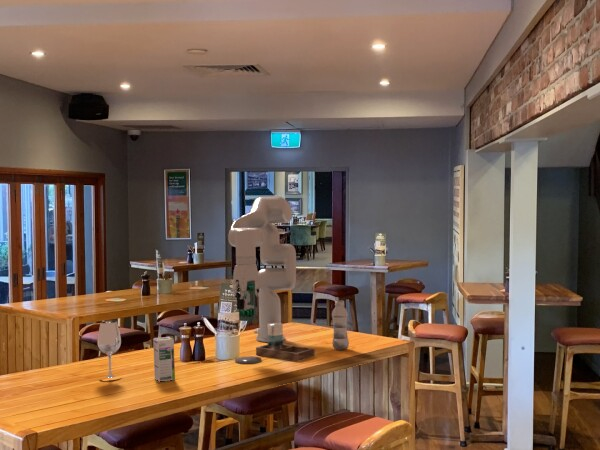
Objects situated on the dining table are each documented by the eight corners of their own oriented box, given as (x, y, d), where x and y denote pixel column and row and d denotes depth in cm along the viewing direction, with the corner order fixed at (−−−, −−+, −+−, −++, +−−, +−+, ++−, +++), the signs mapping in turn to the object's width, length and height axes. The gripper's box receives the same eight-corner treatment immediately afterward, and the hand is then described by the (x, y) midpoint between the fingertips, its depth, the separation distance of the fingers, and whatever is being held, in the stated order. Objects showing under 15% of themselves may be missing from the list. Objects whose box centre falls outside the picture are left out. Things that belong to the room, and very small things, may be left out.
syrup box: (158, 382, 230) (157, 340, 230) (154, 379, 235) (153, 337, 235) (175, 380, 233) (174, 338, 232) (170, 376, 238) (169, 335, 238)
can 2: (264, 354, 271) (264, 324, 270) (274, 351, 275) (274, 322, 275) (276, 356, 267) (275, 326, 266) (286, 353, 272) (285, 323, 271)
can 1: (236, 320, 258) (235, 281, 257) (243, 318, 263) (243, 279, 263) (251, 321, 256) (250, 281, 255) (258, 318, 261) (257, 280, 261)
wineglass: (126, 376, 239) (124, 320, 239) (113, 382, 232) (111, 324, 231) (107, 375, 242) (105, 319, 241) (94, 381, 234) (92, 323, 234)
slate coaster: (229, 361, 259) (229, 360, 259) (247, 356, 267) (247, 355, 267) (249, 365, 253) (248, 363, 253) (266, 360, 261) (266, 358, 261)
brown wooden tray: (256, 354, 270) (256, 347, 270) (274, 350, 279) (274, 342, 279) (297, 361, 257) (297, 353, 257) (314, 356, 266) (314, 348, 266)
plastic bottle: (349, 351, 274) (348, 301, 273) (332, 351, 274) (331, 302, 273) (348, 347, 280) (347, 299, 279) (332, 348, 280) (331, 299, 280)
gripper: (254, 259, 268) (255, 304, 269) (222, 262, 254) (224, 310, 255) (268, 259, 263) (269, 305, 264) (237, 263, 250) (238, 311, 250)
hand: (247, 307), depth 259 cm, fingers closed on can 1, 6 cm apart
